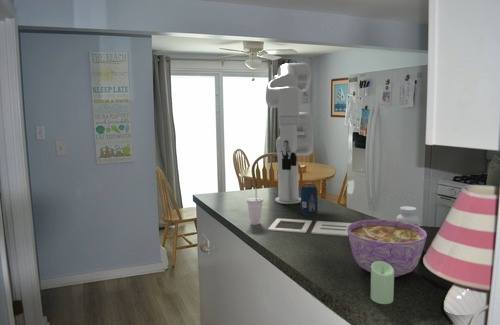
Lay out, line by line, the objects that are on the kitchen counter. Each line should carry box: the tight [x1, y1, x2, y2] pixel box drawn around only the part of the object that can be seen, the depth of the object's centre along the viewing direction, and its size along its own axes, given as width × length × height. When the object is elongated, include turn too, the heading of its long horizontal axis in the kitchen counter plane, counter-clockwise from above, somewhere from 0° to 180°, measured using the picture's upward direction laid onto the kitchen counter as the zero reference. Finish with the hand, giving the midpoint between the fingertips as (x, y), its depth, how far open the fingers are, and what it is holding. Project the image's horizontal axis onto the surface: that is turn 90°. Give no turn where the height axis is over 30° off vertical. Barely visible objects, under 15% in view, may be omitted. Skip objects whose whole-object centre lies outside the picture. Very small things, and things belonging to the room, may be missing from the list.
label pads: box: [267, 218, 353, 237], centre depth 144 cm, size 14×30×1 cm, turn 72°
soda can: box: [300, 183, 319, 216], centre depth 162 cm, size 7×7×12 cm
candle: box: [370, 261, 395, 305], centre depth 89 cm, size 5×5×8 cm
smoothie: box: [246, 187, 264, 226], centre depth 150 cm, size 6×6×14 cm
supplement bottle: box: [395, 205, 420, 227], centre depth 120 cm, size 7×7×13 cm
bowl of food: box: [347, 219, 428, 278], centre depth 103 cm, size 20×20×12 cm
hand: (289, 167), depth 143 cm, fingers open, 9 cm apart
